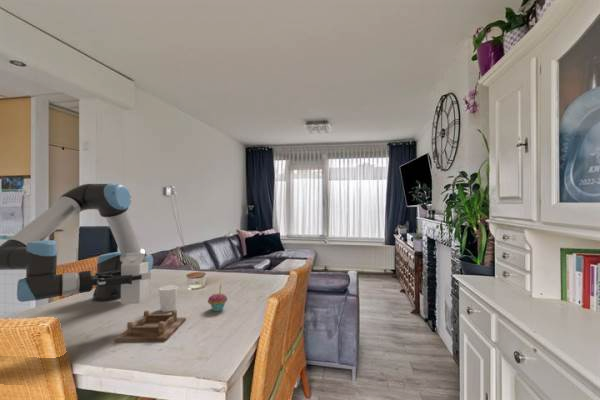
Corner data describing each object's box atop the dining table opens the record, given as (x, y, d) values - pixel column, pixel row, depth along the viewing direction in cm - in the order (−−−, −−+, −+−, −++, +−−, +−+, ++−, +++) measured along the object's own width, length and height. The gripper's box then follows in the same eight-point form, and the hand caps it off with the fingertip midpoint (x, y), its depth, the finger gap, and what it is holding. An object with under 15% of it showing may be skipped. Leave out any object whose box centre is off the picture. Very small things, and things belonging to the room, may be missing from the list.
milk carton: (130, 298, 116) (130, 252, 116) (148, 298, 116) (148, 251, 117) (120, 304, 109) (121, 255, 109) (139, 303, 109) (140, 254, 110)
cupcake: (230, 307, 133) (230, 281, 133) (219, 314, 125) (219, 286, 125) (215, 305, 136) (215, 280, 136) (203, 311, 128) (203, 285, 128)
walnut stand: (142, 320, 118) (142, 308, 118) (185, 320, 118) (185, 307, 118) (115, 341, 100) (115, 326, 100) (166, 341, 100) (166, 326, 100)
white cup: (170, 313, 126) (170, 290, 127) (155, 311, 128) (155, 289, 128) (181, 306, 134) (181, 285, 134) (166, 305, 136) (166, 284, 136)
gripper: (76, 286, 109) (141, 277, 124) (79, 301, 92) (154, 288, 107) (76, 267, 110) (141, 259, 124) (80, 278, 93) (154, 268, 107)
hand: (147, 272), depth 116 cm, fingers closed on milk carton, 10 cm apart
